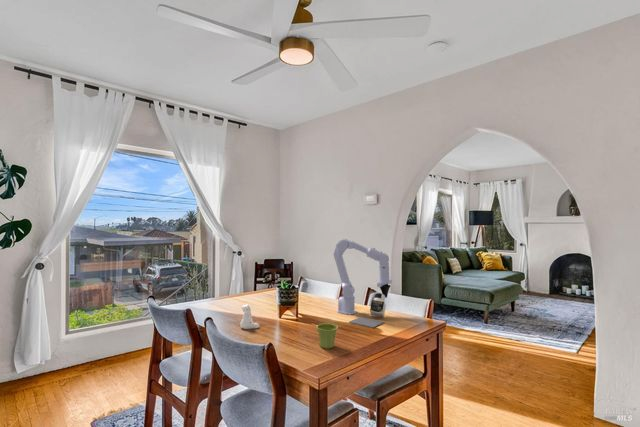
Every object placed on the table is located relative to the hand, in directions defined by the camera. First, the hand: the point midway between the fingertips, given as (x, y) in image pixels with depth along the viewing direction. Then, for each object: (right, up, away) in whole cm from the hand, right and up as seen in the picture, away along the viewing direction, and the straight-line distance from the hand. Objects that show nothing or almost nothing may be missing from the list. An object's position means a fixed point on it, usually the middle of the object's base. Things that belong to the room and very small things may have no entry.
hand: (385, 297), depth 204 cm
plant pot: (-35, -10, -51) cm, 63 cm away
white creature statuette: (-75, -10, -24) cm, 80 cm away
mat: (-13, -10, -16) cm, 23 cm away
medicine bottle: (-6, -8, -7) cm, 12 cm away
